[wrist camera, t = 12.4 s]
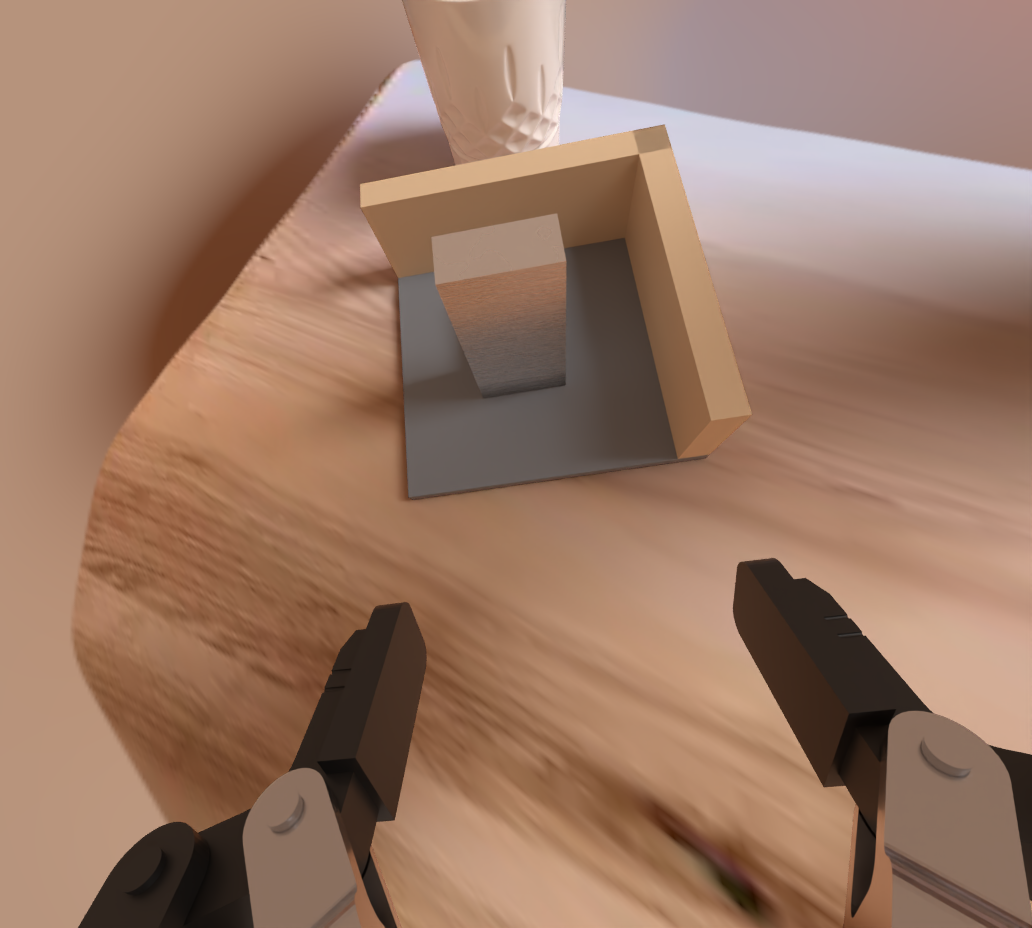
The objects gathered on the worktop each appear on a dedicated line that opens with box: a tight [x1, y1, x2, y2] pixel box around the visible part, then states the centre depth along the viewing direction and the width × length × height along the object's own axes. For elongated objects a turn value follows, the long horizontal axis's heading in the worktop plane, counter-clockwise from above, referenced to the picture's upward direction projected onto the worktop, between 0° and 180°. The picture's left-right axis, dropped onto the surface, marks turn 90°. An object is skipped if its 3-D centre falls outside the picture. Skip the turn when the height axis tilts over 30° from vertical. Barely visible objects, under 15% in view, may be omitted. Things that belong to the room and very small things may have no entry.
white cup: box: [402, 0, 566, 165], centre depth 24 cm, size 8×8×10 cm
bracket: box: [431, 213, 566, 398], centre depth 19 cm, size 4×6×9 cm
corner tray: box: [360, 124, 752, 500], centre depth 21 cm, size 15×15×6 cm
